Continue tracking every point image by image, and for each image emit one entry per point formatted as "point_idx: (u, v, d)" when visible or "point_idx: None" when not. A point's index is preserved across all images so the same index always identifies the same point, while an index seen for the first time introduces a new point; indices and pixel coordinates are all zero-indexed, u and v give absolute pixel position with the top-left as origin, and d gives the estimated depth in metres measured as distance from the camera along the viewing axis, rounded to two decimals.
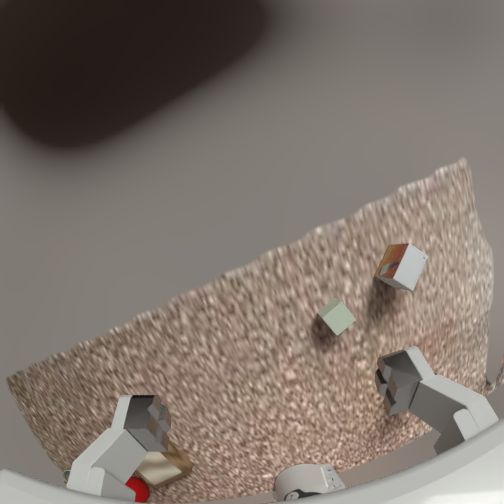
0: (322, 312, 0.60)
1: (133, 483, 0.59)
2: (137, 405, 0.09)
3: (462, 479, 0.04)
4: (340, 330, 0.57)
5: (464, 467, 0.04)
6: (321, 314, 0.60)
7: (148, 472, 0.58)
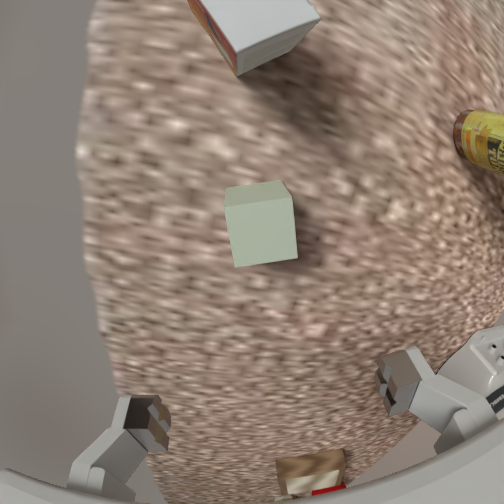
0: None
1: (320, 493, 0.54)
2: (137, 405, 0.09)
3: (462, 479, 0.04)
4: (290, 245, 0.23)
5: (464, 468, 0.04)
6: None
7: (316, 486, 0.50)
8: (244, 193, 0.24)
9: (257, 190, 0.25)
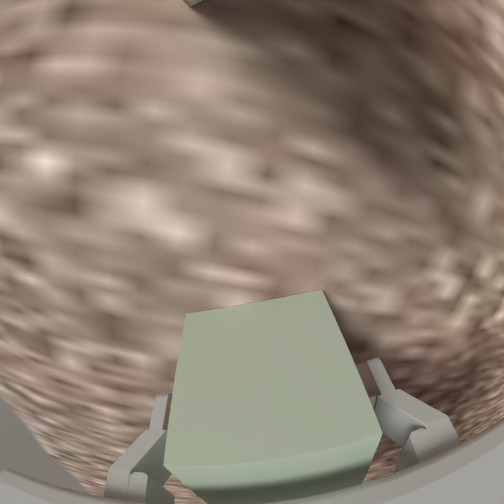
0: None
1: None
2: None
3: (462, 479, 0.04)
4: (349, 484, 0.07)
5: (464, 468, 0.04)
6: None
7: None
8: (227, 373, 0.08)
9: (265, 355, 0.08)
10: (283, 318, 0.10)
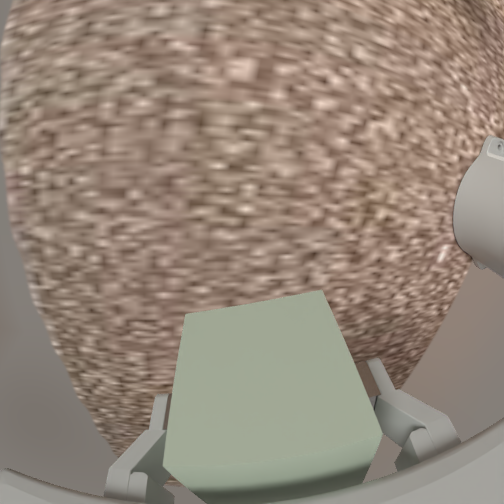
0: None
1: None
2: None
3: (462, 479, 0.04)
4: (349, 485, 0.07)
5: (464, 468, 0.04)
6: None
7: None
8: (226, 374, 0.08)
9: (265, 355, 0.08)
10: (283, 318, 0.10)
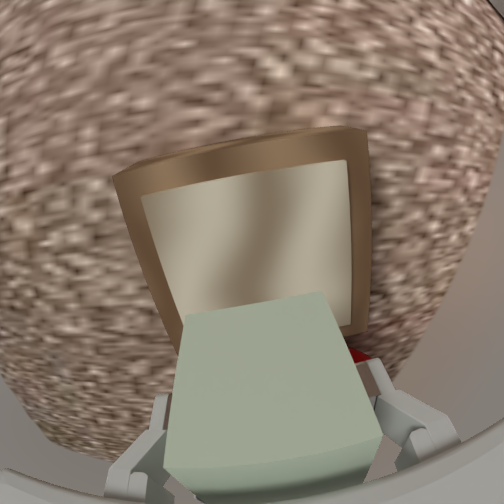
0: None
1: None
2: None
3: (462, 479, 0.04)
4: (349, 486, 0.07)
5: (464, 468, 0.04)
6: None
7: None
8: (227, 375, 0.08)
9: (265, 356, 0.08)
10: (283, 319, 0.10)
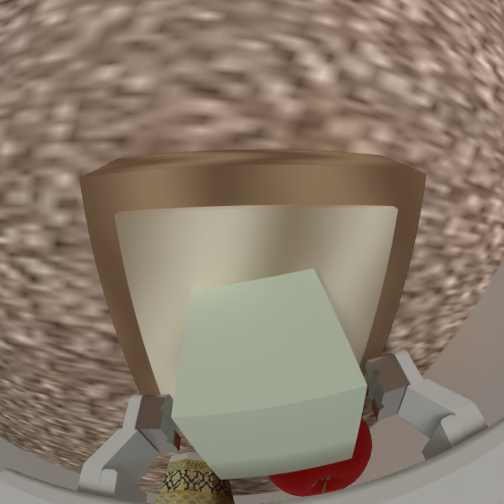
0: None
1: None
2: (149, 405, 0.09)
3: (462, 479, 0.04)
4: (342, 449, 0.08)
5: (463, 468, 0.04)
6: None
7: None
8: (229, 338, 0.09)
9: (263, 322, 0.10)
10: (279, 292, 0.11)
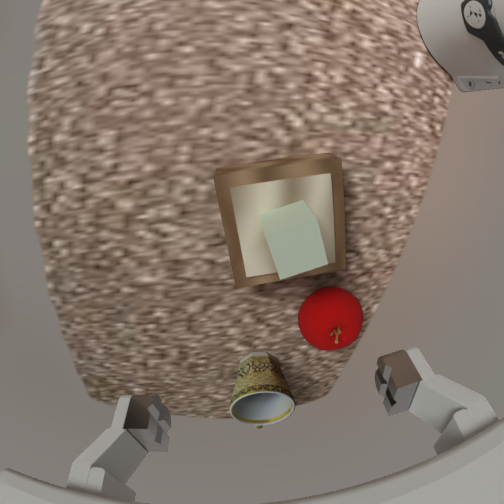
0: None
1: (313, 303, 0.39)
2: (137, 405, 0.09)
3: (462, 479, 0.04)
4: (321, 255, 0.29)
5: (464, 467, 0.04)
6: None
7: None
8: (277, 219, 0.30)
9: (287, 214, 0.30)
10: (291, 207, 0.32)
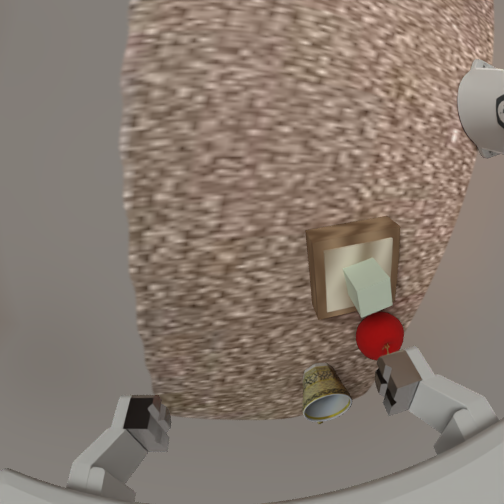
0: (353, 300, 0.42)
1: (370, 326, 0.49)
2: (137, 405, 0.09)
3: (462, 479, 0.04)
4: (389, 300, 0.39)
5: (464, 468, 0.04)
6: (355, 305, 0.42)
7: None
8: (359, 275, 0.40)
9: (365, 271, 0.41)
10: (366, 264, 0.42)
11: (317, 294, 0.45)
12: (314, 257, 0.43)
